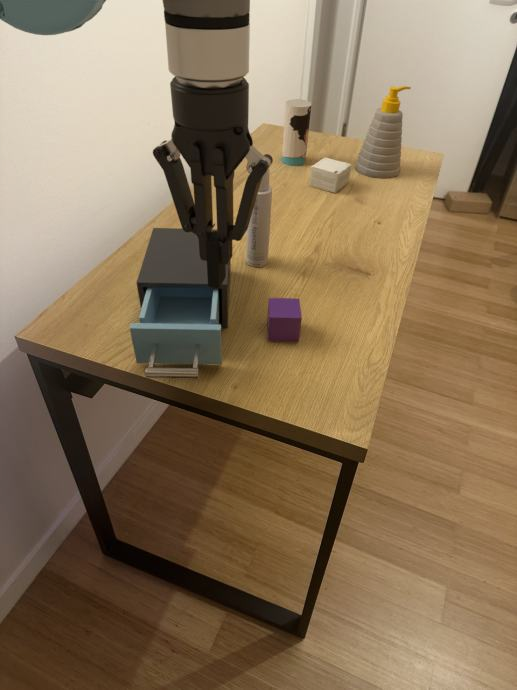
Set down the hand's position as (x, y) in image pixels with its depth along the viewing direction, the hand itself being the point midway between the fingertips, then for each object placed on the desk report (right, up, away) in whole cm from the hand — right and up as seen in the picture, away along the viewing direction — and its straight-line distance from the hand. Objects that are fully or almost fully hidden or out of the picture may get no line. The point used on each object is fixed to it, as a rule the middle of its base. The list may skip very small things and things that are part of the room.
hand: (217, 281), depth 60 cm
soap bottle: (+38, +40, +68) cm, 88 cm away
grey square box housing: (-7, 0, +23) cm, 24 cm away
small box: (+24, +33, +60) cm, 72 cm away
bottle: (+5, +8, +32) cm, 33 cm away
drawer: (-7, -8, +12) cm, 16 cm away
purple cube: (+9, -6, +17) cm, 20 cm away
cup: (+15, +44, +70) cm, 84 cm away
